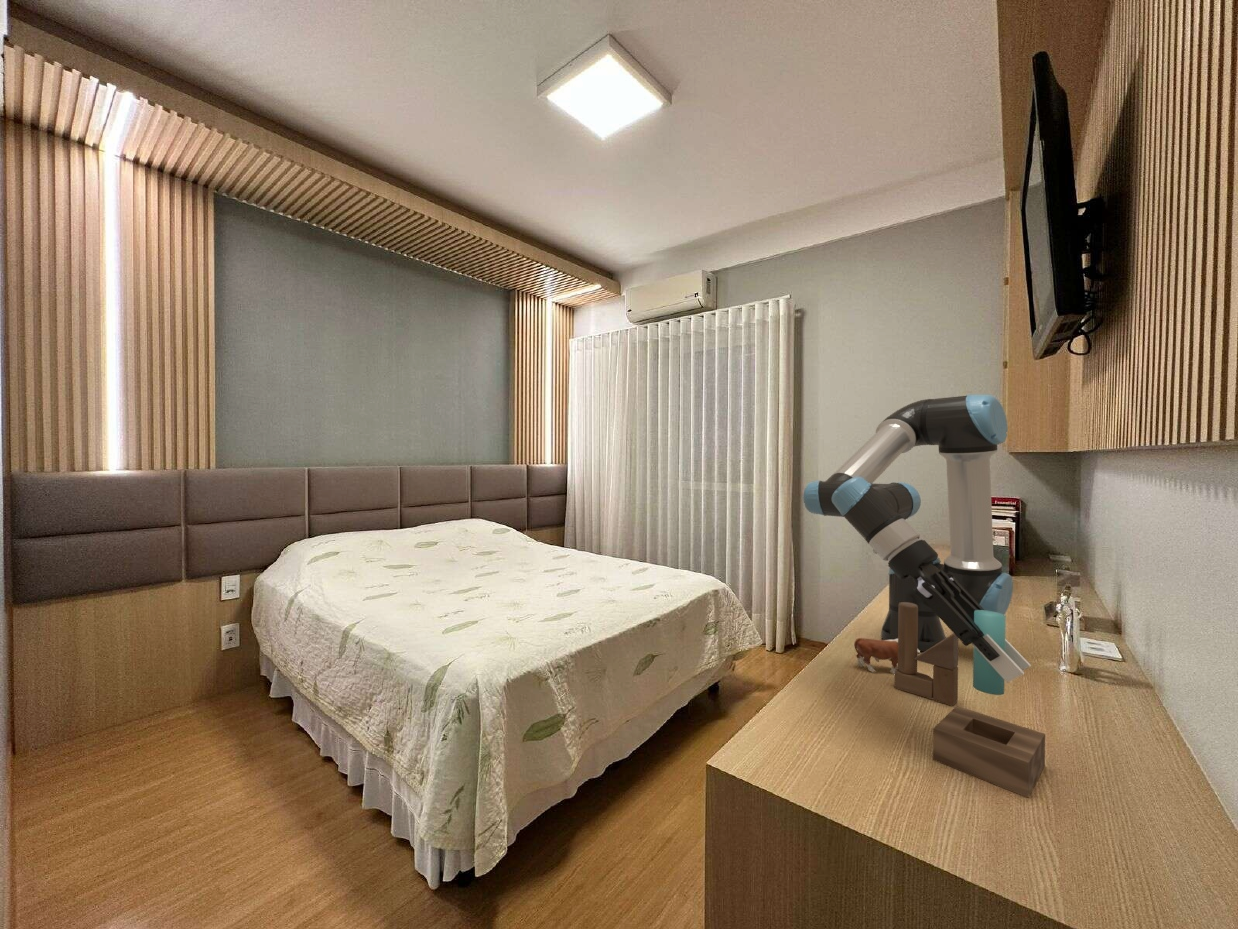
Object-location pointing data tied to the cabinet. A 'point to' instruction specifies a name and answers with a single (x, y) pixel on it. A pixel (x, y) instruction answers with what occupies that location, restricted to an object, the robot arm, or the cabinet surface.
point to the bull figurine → (877, 652)
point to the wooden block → (938, 655)
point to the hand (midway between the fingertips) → (1019, 673)
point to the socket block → (990, 749)
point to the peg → (983, 672)
